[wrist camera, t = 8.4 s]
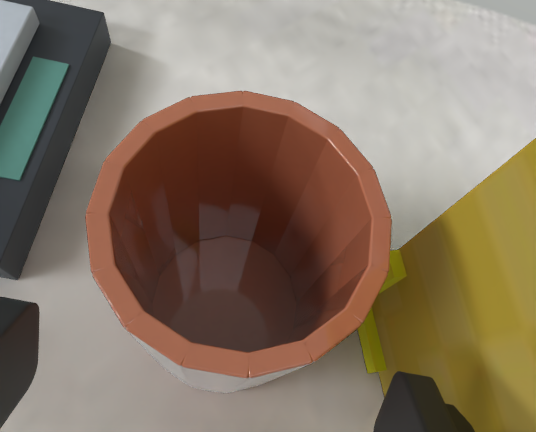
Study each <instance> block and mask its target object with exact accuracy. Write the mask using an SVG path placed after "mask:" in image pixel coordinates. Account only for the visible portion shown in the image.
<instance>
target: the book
mask: <svg viewBox="0 0 536 432" xmlns="http://www.w3.org/2000/svg"><path fill="white" fill-rule="evenodd" d="M358 334H359V338H360V342H361V347H362V351H363V355H364V360H365V364H366V369H367V373H374V372H379V376H380V381H381V385H382V389H383V393H384V397H385V396H386V393H387V390H388V388H389V385H390V383H391V380H392V378H393V376H394V374H395V373H396V372H397V371H401V372H406V373H412V374H417V375H423V376H428V377H431V378H433V379H434V381H435V383H436V385H437V387H438V389H439V391H440V394H441V396H442V398H443V400H444V402H445V404H451V405H454V406H455V407H456V408H457V410H458V411H459V412H460V413H461V414H462V415H463V416H464V417H465V418H466V420H467V421H468V422H469V423H470V424H471V425H472V427H473V429H474V431H475V432H536V138H535V139H534V140H533V141H532V142H530V143H529V144H528V145H527V146H525V147H524V148H523V149H522V150H520V151H519V152H518V153H517V154H516V155H514V156H513V157H512V158H511V159H509V160H508V161H507V162H506V163H504V164H503V165H502V166H501V167H500V168H498V169H497V170H496V171H495V172H493V173H492V174H491V175H490V176H488V177H487V178H486V179H485V180H483V181H482V182H481V183H480V184H479V185H477V186H476V187H475V188H474V189H472V190H471V191H470V192H469V193H467V194H466V195H465V196H464V197H463V198H461V199H460V200H459V201H458V202H456V203H455V204H454V205H453V206H451V207H450V208H449V209H448V210H446V211H445V212H444V213H443V214H442V215H440V216H439V217H438V218H437V219H435V220H434V221H433V222H432V223H430V224H429V225H428V226H427V227H426V228H424V229H423V230H422V231H421V232H419V233H418V234H417V235H416V236H414V237H413V238H412V239H411V240H409V241H408V242H407V243H406V244H405V245H403V246H402V247H401V248H400V249H398V250H391V251H390V264H389V272H388V276H387V278H386V280H385V282H384V284H383V286H382V288H381V290H380V292H379V294H378V296H377V298H376V300H375V302H374V304H373V306H372V308H371V309H370V311H369V313H368V315H367V317H366V319H365V321H364V323H362V325H361V326H360V327H359V328H358Z"/></svg>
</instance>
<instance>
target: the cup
mask: <svg viewBox="0 0 536 432" xmlns="http://www.w3.org/2000/svg"><path fill="white" fill-rule="evenodd" d="M85 219H86V228H87V238H88V248H89V258H90V268H91V272H92V275H93V278H94V280H95V281H96V283H97V285H98V286H99V288H100V289H101V291H102V293H103V294H104V296H105V298H106V299H107V301H108V303H109V304H110V306H111V308H112V309H113V311H114V313H115V314H116V316H117V318H118V319H119V321H120V323H121V324H122V326H123V327H124V328H125V329H126V330H127V331H128V332H129V333H130V334H131V335H132V337H133V338H134V339H135V340H136V341H137V342H138V343H139V344H140V345H141V346H142V347H143V348H144V349H145V350H146V351H147V352H148V353H149V354H150V355H151V356H152V357H153V358H154V359H155V360H156V361H157V362H158V363H159V365H160V366H161V367H162V368H163V369H165V370H166V371H168V372H169V373H171V374H172V375H174V376H175V377H176V378H177V379H179V380H181V381H183V382H184V383H185V384H187V385H188V386H190V387H193V388H197V389H202V390H206V391H212V392H220V393H231V392H235V391H239V390H244V389H247V388H251V387H255V386H259V385H261V384H264V383H266V382H269V381H271V380H273V379H276V378H278V377H281V376H283V375H285V374H288V373H290V372H293V371H295V370H297V369H300V368H302V367H305V366H307V365H310V364H311V363H313V362H316V361H317V360H318V359H320V358H321V357H322V356H324V355H325V354H326V353H327V352H329V351H330V350H331V349H332V348H334V347H335V346H336V345H338V344H339V343H340V342H341V341H343V340H344V339H345V338H346V337H348V336H349V335H350V334H352V333H353V332H354V331H355V330H357V329H358V328H359V327H360V326H361V325H362V323H364V321H365V319H366V317H367V315H368V313H369V311H370V309H371V308H372V306H373V304H374V302H375V300H376V298H377V296H378V294H379V292H380V290H381V288H382V286H383V284H384V282H385V280H386V278H387V276H388V272H389V264H390V245H391V225H392V220H391V214H390V211H389V209H388V206H387V203H386V200H385V197H384V195H383V192H382V189H381V186H380V183H379V181H378V178H377V175H376V172H375V170H374V169H373V167H372V165H371V164H370V163H369V162H368V161H367V160H366V158H365V157H364V156H363V155H362V154H361V152H360V151H359V150H358V149H357V148H356V147H355V145H354V144H353V143H352V142H351V141H350V140H349V138H348V137H347V136H346V135H345V134H344V133H343V131H342V130H341V129H339V127H337V126H335V125H334V124H332V123H330V122H329V121H327V120H325V119H324V118H322V117H320V116H318V115H317V114H315V113H313V112H312V111H310V110H308V109H307V108H305V107H303V106H301V105H300V104H298V103H296V102H295V103H294V101H290V100H286V99H281V98H276V97H272V96H267V95H262V94H258V93H253V92H248V91H243V92H242V91H235V92H226V93H217V94H208V95H199V96H192V97H191V98H190V97H188V98H186V99H184V100H182V101H180V102H177V103H175V104H173V105H171V106H169V107H167V108H165V109H163V110H161V111H159V112H157V113H155V114H153V115H151V116H149V117H146V118H144V119H143V120H142V121H140V122H139V123H138V124H137V125H136V126H135V127H134V129H133V130H132V131H131V132H130V133H129V134H128V135H127V136H126V137H125V138H124V139H123V140H122V141H121V143H120V144H119V145H118V146H117V147H116V148H115V149H114V150H113V151H112V152H111V153H110V154H109V155H108V157H107V158H106V159H105V161H104V162H103V164H102V167H101V170H100V173H99V176H98V179H97V182H96V184H95V187H94V190H93V193H92V196H91V199H90V201H89V204H88V207H87V210H86V216H85Z"/></svg>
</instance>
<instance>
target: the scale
mask: <svg viewBox="0 0 536 432" xmlns="http://www.w3.org/2000/svg"><path fill="white" fill-rule="evenodd" d="M110 43H111V40H110V36H109V32H108V28H107V24H106V20H105V16H104V13H103V12H99V11H95V10H90V9H86V8H81V7H77V6H72V5H68V4H63V3H59V2H54V1H49V0H0V277H3V278H9V279H14V280H18V278H19V276H20V273H21V271H22V268H23V266H24V263H25V261H26V258H27V255H28V253H29V250H30V248H31V245H32V243H33V240H34V238H35V235H36V233H37V230H38V227H39V225H40V222H41V220H42V217H43V215H44V212H45V210H46V207H47V204H48V202H49V199H50V197H51V194H52V192H53V189H54V187H55V184H56V181H57V179H58V176H59V174H60V171H61V169H62V166H63V164H64V161H65V158H66V156H67V153H68V151H69V148H70V146H71V143H72V141H73V138H74V135H75V133H76V130H77V128H78V125H79V123H80V120H81V118H82V115H83V112H84V110H85V107H86V105H87V102H88V100H89V97H90V95H91V92H92V89H93V87H94V84H95V82H96V79H97V77H98V74H99V72H100V69H101V66H102V64H103V61H104V59H105V56H106V54H107V51H108V49H109V46H110Z"/></svg>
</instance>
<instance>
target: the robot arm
mask: <svg viewBox="0 0 536 432" xmlns="http://www.w3.org/2000/svg"><path fill="white" fill-rule="evenodd" d="M38 344H39V307H38V305H37V304H36V303H32V302H27V301H21V300H16V299H10V298H5V297H0V428H1V427H2V425H3V424H4V423H5V421H6V420H7V418H8V417H9V415H10V414H11V413H12V411H13V410H14V408H15V407H16V406H17V404H18V403H19V401H20V400H21V398H22V397H23V396H24V394H25V393H26V391H27V390H28V388H29V386H30V385H31V383H32V380H33V378H34V375H35V372H36V369H37V364H38ZM374 432H475V431H474V429H473V427H472V425H471V424H470V423H469V422H468V421H467V420H466V418H465V417H464V416H463V415H462V414H461V413H460V412H459V411H458V410H457V408H456V407H455V406H454V405H451V404H445V402H444V400H443V398H442V396H441V394H440V391H439V389H438V387H437V385H436V383H435V381H434V379H433V378H431V377H428V376H423V375H417V374H412V373H406V372H401V371H397V372H396V373H395V374H394V376H393V378H392V380H391V383H390V385H389V388H388V390H387V393H386V396H385V398H384V401H383V403H382V406H381V409H380V411H379V414H378V416H377V419H376V422H375V426H374Z"/></svg>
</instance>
